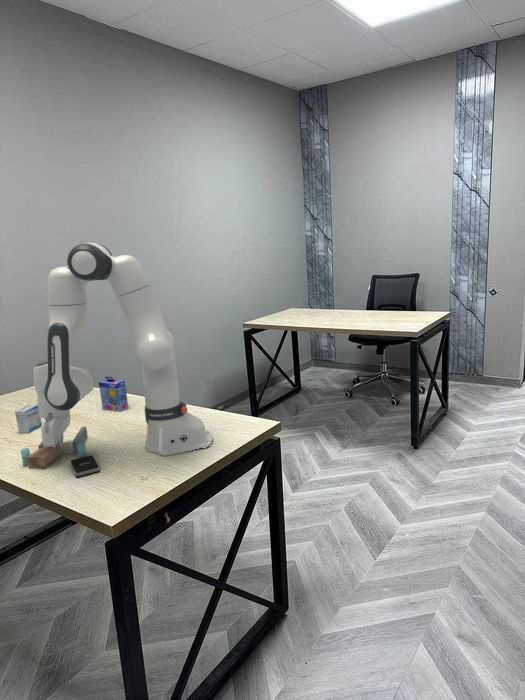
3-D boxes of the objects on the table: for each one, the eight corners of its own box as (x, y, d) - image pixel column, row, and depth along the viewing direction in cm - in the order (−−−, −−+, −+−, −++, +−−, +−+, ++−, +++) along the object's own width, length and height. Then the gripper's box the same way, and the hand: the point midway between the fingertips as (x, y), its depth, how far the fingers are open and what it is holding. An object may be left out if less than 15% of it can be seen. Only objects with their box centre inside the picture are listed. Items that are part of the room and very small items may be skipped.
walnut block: (61, 458, 156) (59, 447, 155) (45, 469, 149) (43, 458, 148) (45, 457, 158) (43, 446, 157) (28, 468, 150) (26, 457, 149)
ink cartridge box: (101, 409, 201) (97, 376, 198) (111, 405, 206) (106, 372, 202) (119, 412, 196) (115, 378, 193) (129, 407, 201) (124, 374, 198)
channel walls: (87, 436, 172) (86, 426, 171) (78, 453, 159) (76, 442, 158) (52, 440, 171) (51, 429, 170) (40, 457, 157) (38, 446, 157)
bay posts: (87, 456, 156) (85, 442, 155) (85, 459, 154) (83, 445, 153) (24, 463, 154) (22, 448, 153) (22, 466, 151) (19, 451, 150)
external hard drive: (93, 460, 154) (92, 454, 154) (100, 473, 145) (100, 467, 144) (70, 466, 151) (69, 460, 150) (76, 480, 141) (75, 474, 141)
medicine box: (28, 433, 179) (25, 411, 177) (18, 433, 180) (14, 411, 178) (42, 425, 186) (38, 404, 185) (32, 425, 187) (28, 404, 185)
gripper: (55, 419, 147) (61, 460, 150) (71, 398, 167) (76, 435, 170) (33, 421, 146) (40, 463, 149) (52, 400, 166) (58, 437, 169)
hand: (59, 448), depth 160 cm, fingers closed
